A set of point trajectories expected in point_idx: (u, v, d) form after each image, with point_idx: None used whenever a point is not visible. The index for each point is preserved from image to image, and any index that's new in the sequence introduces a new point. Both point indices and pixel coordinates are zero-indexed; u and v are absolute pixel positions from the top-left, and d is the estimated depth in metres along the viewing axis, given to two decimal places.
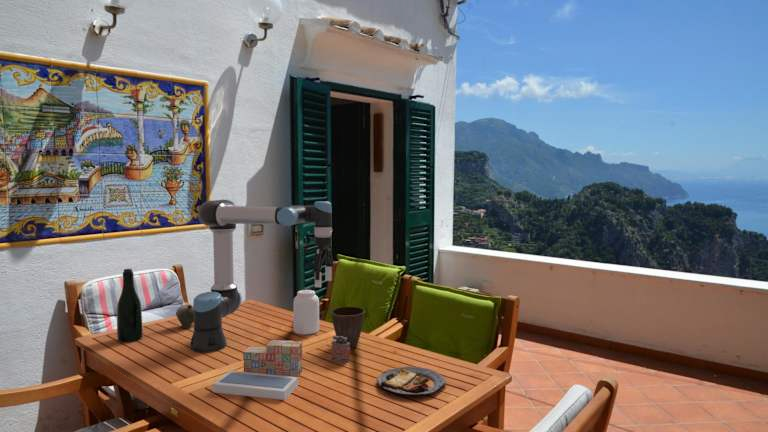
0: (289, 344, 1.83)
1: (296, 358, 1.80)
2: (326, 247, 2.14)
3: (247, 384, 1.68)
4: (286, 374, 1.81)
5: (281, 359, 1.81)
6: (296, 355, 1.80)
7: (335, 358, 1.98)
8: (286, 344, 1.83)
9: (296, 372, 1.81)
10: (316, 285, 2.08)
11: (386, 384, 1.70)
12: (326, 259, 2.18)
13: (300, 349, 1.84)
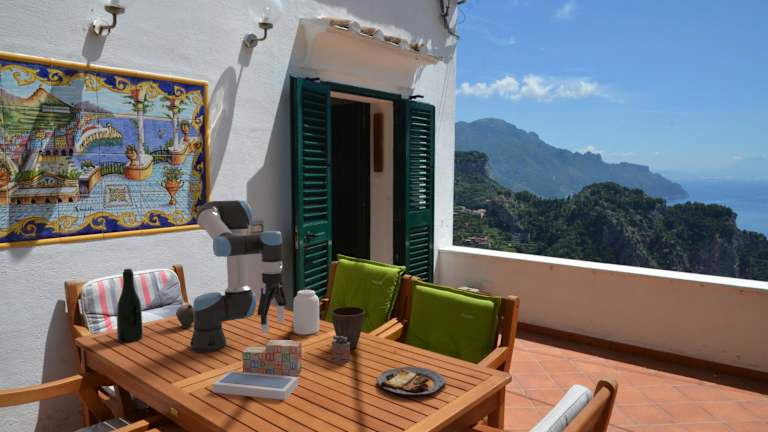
0: (288, 344, 1.83)
1: (295, 357, 1.81)
2: (276, 284, 1.83)
3: (247, 384, 1.68)
4: (285, 374, 1.82)
5: (280, 359, 1.82)
6: (295, 355, 1.81)
7: (335, 358, 1.98)
8: (285, 344, 1.83)
9: (295, 371, 1.81)
10: (262, 330, 1.77)
11: (386, 384, 1.70)
12: (277, 298, 1.87)
13: (299, 349, 1.84)
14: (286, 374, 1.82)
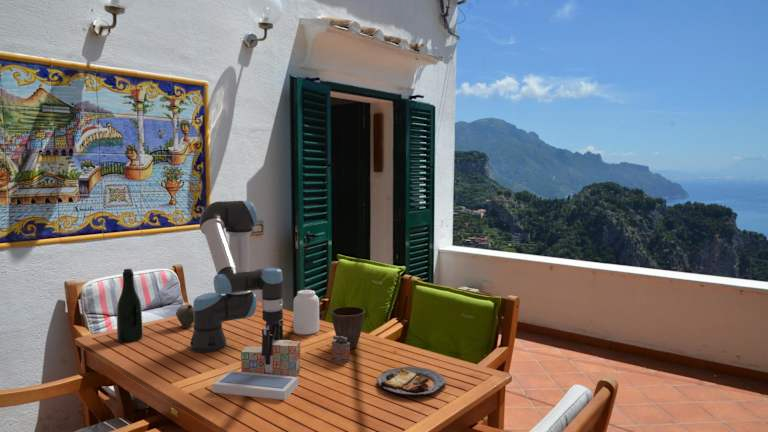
0: (287, 343, 1.83)
1: (294, 357, 1.81)
2: (276, 321, 1.84)
3: (247, 384, 1.68)
4: (284, 373, 1.82)
5: (279, 358, 1.81)
6: (294, 354, 1.81)
7: (335, 358, 1.98)
8: (284, 343, 1.83)
9: (294, 371, 1.81)
10: (267, 370, 1.81)
11: (386, 384, 1.70)
12: (275, 337, 1.87)
13: (298, 348, 1.84)
14: (285, 374, 1.82)
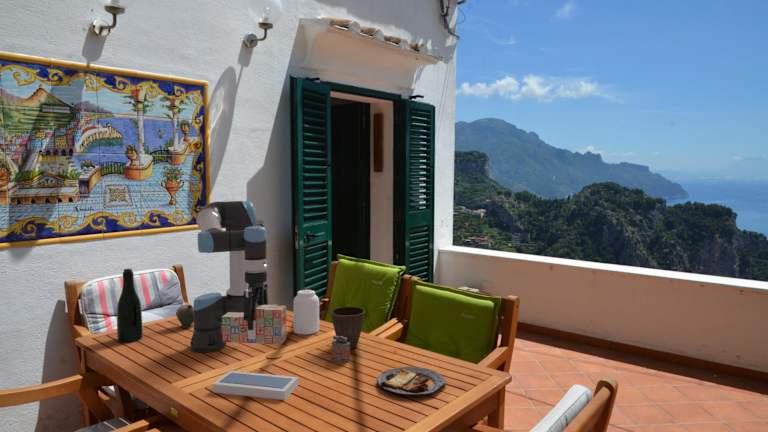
0: (272, 308, 1.69)
1: (279, 322, 1.67)
2: (260, 284, 1.70)
3: (247, 384, 1.68)
4: (268, 340, 1.68)
5: (262, 324, 1.67)
6: (279, 319, 1.67)
7: (335, 358, 1.98)
8: (268, 308, 1.69)
9: (279, 338, 1.67)
10: (249, 336, 1.67)
11: (386, 384, 1.70)
12: (259, 302, 1.72)
13: (284, 313, 1.70)
14: (269, 340, 1.68)
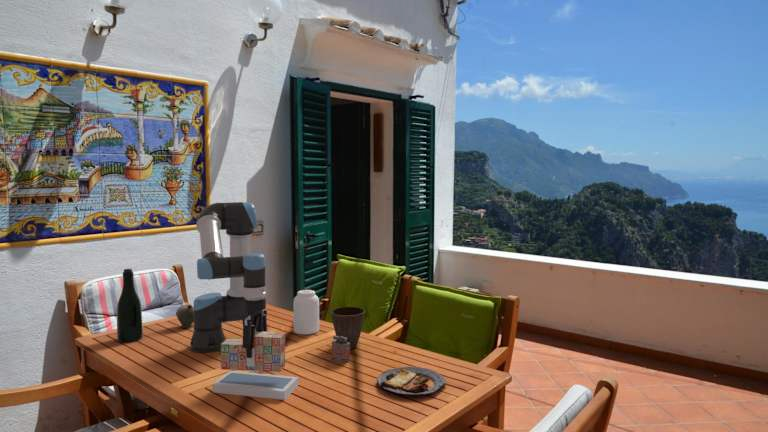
0: (271, 335, 1.68)
1: (278, 350, 1.67)
2: (259, 311, 1.70)
3: (247, 384, 1.68)
4: (267, 367, 1.67)
5: (261, 351, 1.67)
6: (278, 347, 1.66)
7: (335, 358, 1.98)
8: (267, 335, 1.68)
9: (278, 365, 1.67)
10: (248, 364, 1.67)
11: (386, 384, 1.70)
12: (258, 328, 1.72)
13: (283, 340, 1.70)
14: (268, 368, 1.67)
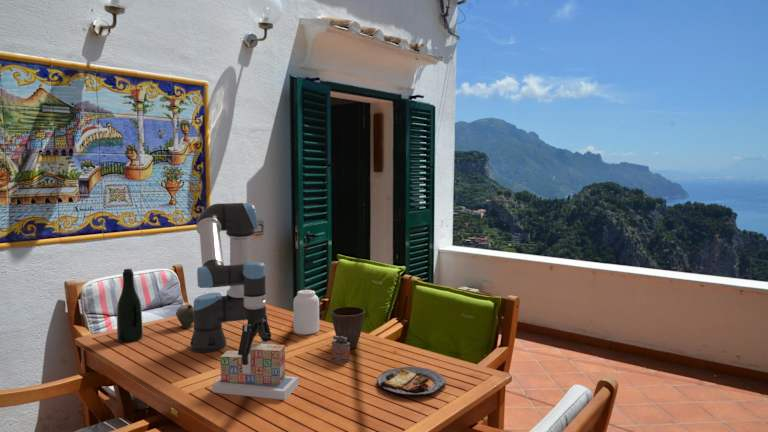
0: (270, 348, 1.69)
1: (278, 363, 1.67)
2: (259, 320, 1.71)
3: (247, 384, 1.68)
4: (267, 380, 1.68)
5: (261, 364, 1.67)
6: (278, 360, 1.67)
7: (335, 358, 1.98)
8: (267, 348, 1.69)
9: (278, 378, 1.67)
10: (244, 371, 1.64)
11: (386, 384, 1.70)
12: (260, 333, 1.74)
13: (282, 353, 1.70)
14: (267, 381, 1.68)
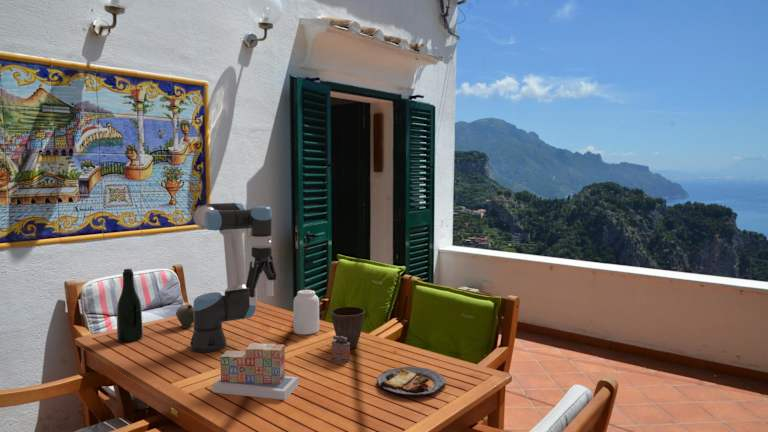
0: (270, 347, 1.69)
1: (278, 363, 1.67)
2: (265, 259, 1.87)
3: (247, 384, 1.68)
4: (267, 380, 1.68)
5: (261, 364, 1.68)
6: (278, 359, 1.67)
7: (335, 358, 1.98)
8: (267, 347, 1.69)
9: (278, 378, 1.67)
10: (251, 303, 1.81)
11: (386, 384, 1.70)
12: (266, 272, 1.91)
13: (282, 353, 1.70)
14: (268, 380, 1.68)
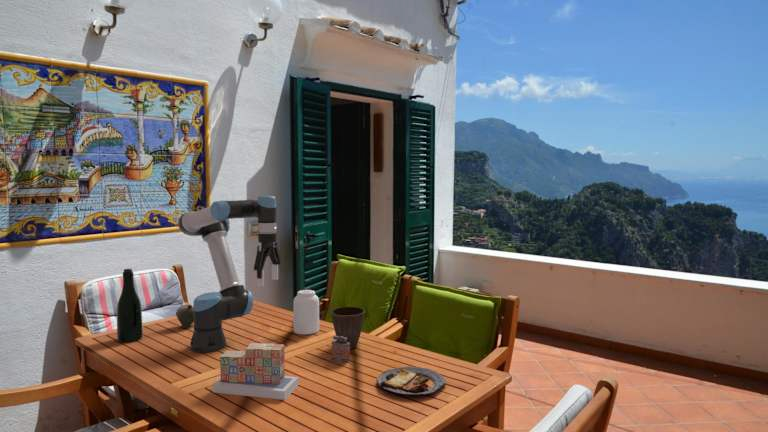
0: (270, 347, 1.69)
1: (278, 362, 1.67)
2: (271, 244, 2.03)
3: (247, 384, 1.68)
4: (267, 380, 1.68)
5: (261, 364, 1.68)
6: (278, 359, 1.67)
7: (335, 358, 1.98)
8: (267, 347, 1.69)
9: (278, 377, 1.68)
10: (258, 284, 1.97)
11: (386, 384, 1.70)
12: (272, 257, 2.07)
13: (282, 352, 1.71)
14: (268, 380, 1.68)
